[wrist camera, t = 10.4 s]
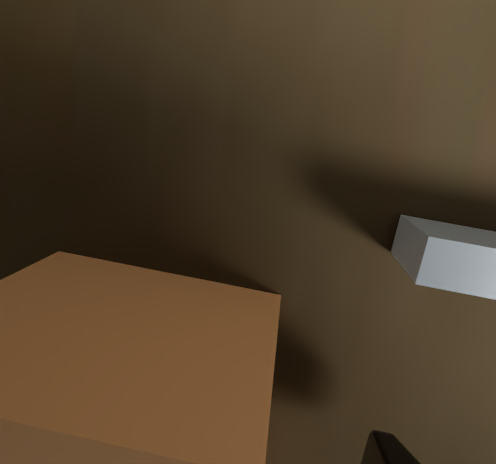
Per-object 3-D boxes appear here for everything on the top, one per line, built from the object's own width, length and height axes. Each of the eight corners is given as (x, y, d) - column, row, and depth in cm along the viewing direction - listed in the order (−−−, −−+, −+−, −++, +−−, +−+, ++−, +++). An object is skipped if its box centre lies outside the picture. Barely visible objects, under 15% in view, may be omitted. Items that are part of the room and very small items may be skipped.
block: (281, 293, 9) (263, 479, 4) (243, 481, 10) (197, 794, 5) (61, 249, 9) (-193, 373, 4) (50, 437, 11) (-158, 693, 6)
